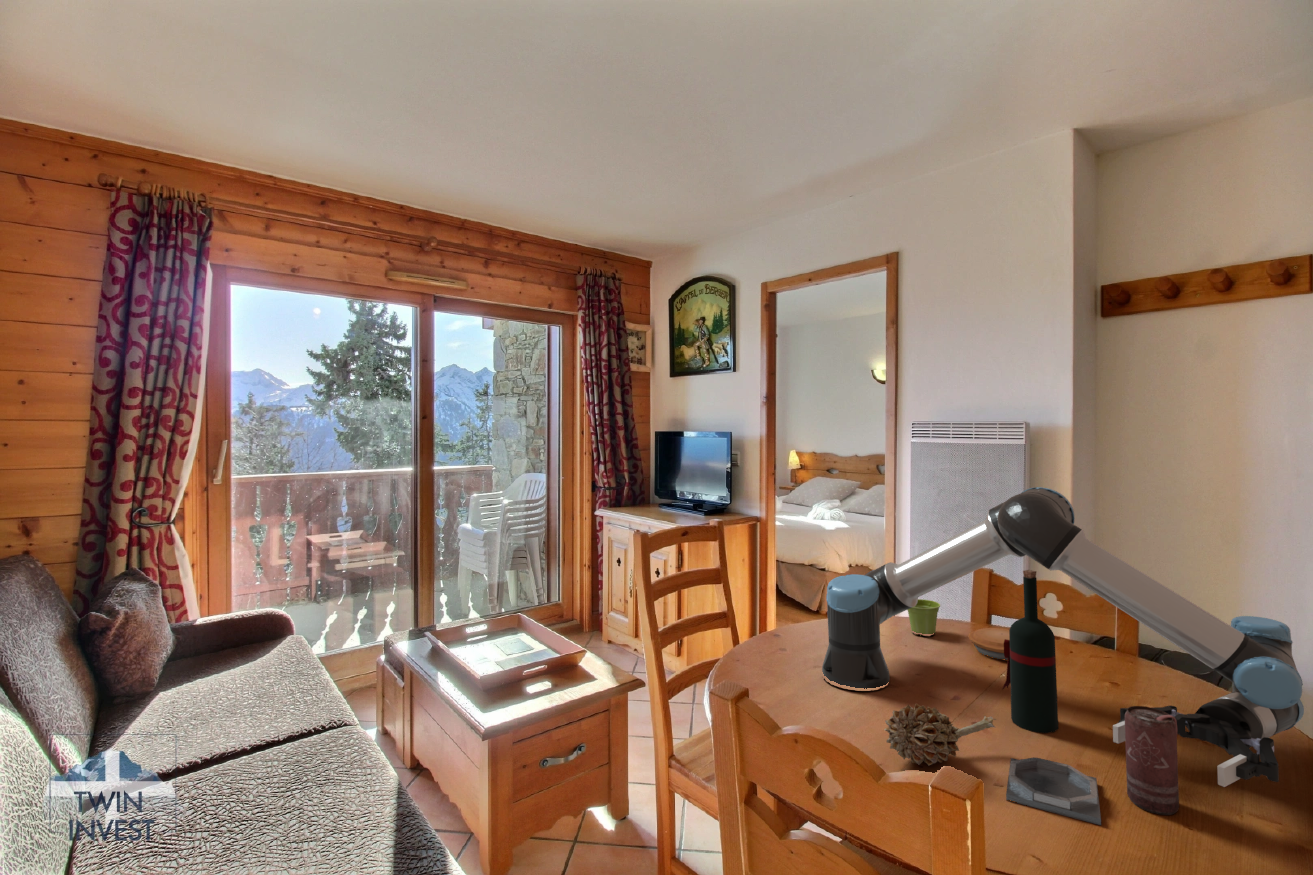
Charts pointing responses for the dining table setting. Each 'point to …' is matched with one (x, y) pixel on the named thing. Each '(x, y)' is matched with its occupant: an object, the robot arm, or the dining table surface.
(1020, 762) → the cup holder
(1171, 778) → the can
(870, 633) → the robot arm
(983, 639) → the pie
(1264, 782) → the dining table surface
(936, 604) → the plant pot
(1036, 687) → the wine bottle
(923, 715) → the pine cone
